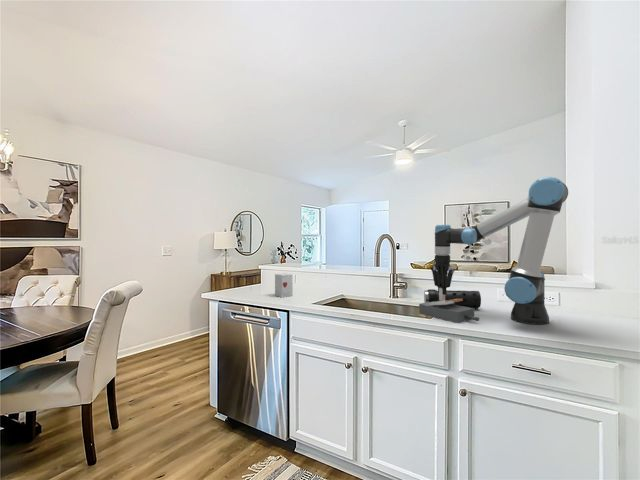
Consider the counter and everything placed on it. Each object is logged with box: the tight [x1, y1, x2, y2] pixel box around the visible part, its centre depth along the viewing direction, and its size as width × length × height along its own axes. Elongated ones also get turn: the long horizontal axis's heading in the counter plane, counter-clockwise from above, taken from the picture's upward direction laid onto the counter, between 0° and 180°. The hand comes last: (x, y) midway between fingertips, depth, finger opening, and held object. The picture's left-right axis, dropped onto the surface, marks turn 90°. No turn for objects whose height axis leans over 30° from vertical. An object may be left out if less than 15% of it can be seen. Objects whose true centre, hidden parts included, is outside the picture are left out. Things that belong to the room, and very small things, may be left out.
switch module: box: [418, 301, 480, 324], centre depth 158 cm, size 28×13×6 cm, turn 32°
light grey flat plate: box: [429, 301, 454, 305], centre depth 159 cm, size 10×6×1 cm, turn 32°
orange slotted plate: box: [444, 298, 463, 302], centre depth 163 cm, size 10×6×1 cm, turn 32°
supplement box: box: [274, 272, 293, 298], centre depth 220 cm, size 9×9×15 cm
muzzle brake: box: [423, 288, 482, 310], centre depth 178 cm, size 10×28×10 cm, turn 78°
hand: (442, 300), depth 167 cm, fingers closed
